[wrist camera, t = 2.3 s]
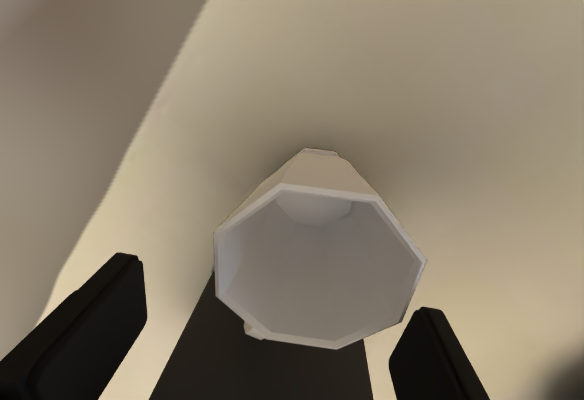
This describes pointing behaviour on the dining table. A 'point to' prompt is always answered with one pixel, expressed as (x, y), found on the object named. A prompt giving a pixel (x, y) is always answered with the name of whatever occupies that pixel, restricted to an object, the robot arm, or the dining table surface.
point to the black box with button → (255, 363)
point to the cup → (315, 256)
